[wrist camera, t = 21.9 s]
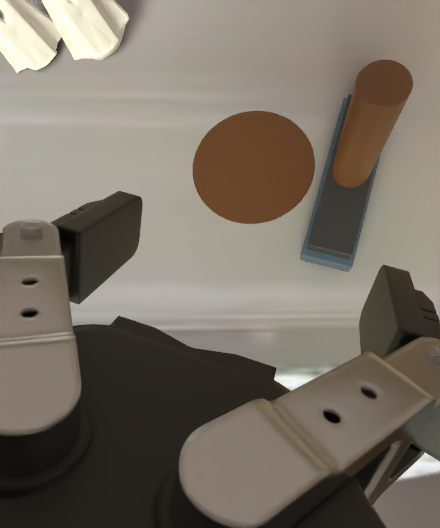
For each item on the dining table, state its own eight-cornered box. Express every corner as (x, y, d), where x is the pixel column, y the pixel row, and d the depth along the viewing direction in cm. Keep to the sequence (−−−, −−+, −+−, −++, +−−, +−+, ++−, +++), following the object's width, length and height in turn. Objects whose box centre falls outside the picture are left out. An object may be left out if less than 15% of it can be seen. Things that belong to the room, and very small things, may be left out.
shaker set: (137, 28, 38) (81, -101, 27) (133, 66, 37) (73, -51, 26) (20, 37, 40) (-75, -81, 29) (13, 74, 39) (-88, -33, 28)
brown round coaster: (174, 147, 35) (173, 146, 35) (277, 92, 34) (277, 91, 34) (226, 245, 32) (225, 245, 32) (337, 187, 32) (338, 186, 32)
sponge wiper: (299, 261, 31) (313, 198, 19) (340, 112, 33) (376, -32, 21) (347, 273, 30) (393, 216, 18) (385, 120, 32) (450, -24, 20)
